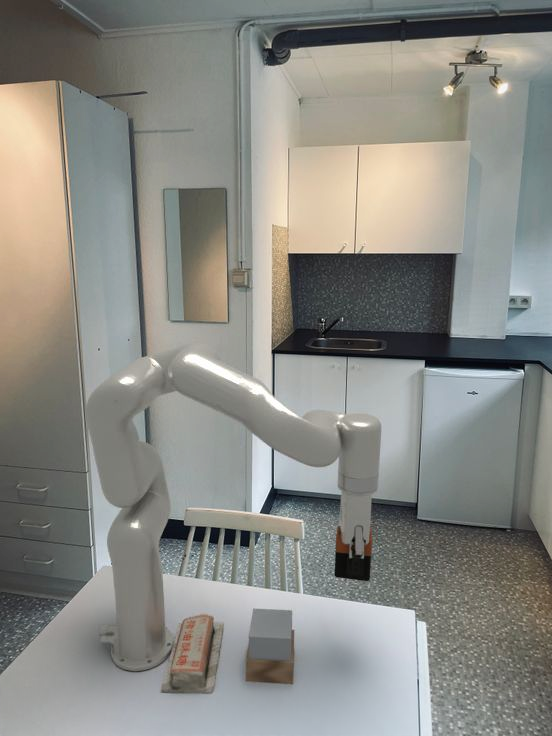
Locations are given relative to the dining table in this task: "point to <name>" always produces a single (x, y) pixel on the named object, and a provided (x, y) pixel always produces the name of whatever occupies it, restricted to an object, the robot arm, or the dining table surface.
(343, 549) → the battery
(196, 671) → the packaged product
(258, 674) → the bottom block
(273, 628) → the top block
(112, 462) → the robot arm
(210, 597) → the dining table surface
